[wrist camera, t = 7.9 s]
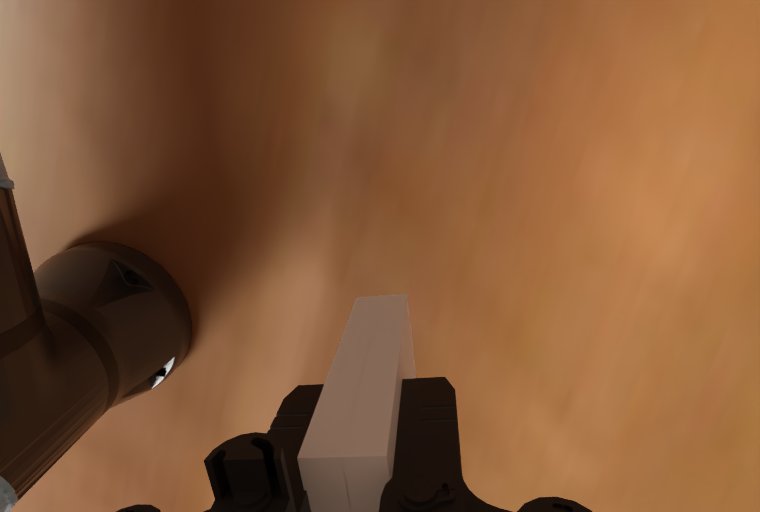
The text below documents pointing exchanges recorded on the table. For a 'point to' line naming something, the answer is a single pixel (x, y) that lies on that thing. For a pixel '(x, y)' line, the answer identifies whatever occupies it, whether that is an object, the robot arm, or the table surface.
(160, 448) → the table surface
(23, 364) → the robot arm
